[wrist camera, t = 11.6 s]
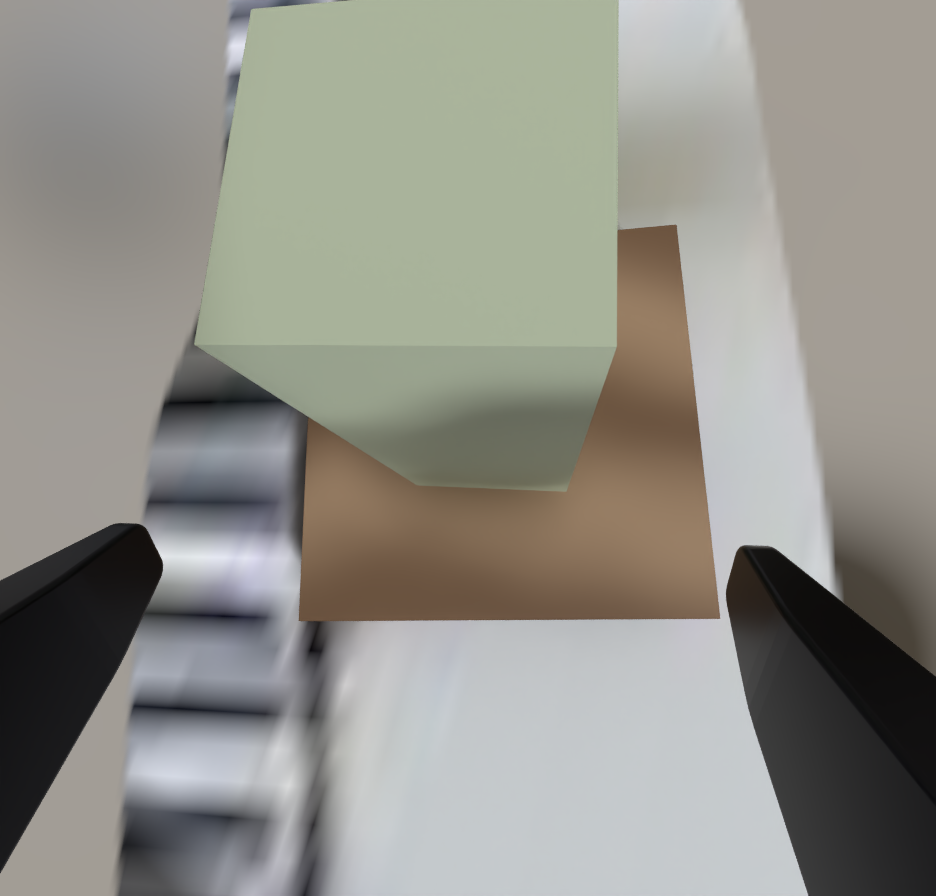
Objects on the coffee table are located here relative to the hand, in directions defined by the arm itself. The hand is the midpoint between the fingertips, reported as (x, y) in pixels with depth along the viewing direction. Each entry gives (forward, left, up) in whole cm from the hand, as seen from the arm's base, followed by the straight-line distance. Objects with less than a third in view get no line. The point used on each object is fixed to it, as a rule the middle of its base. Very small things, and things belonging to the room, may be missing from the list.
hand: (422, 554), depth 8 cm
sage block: (+4, +2, -8) cm, 9 cm away
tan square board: (+4, +2, -11) cm, 12 cm away
